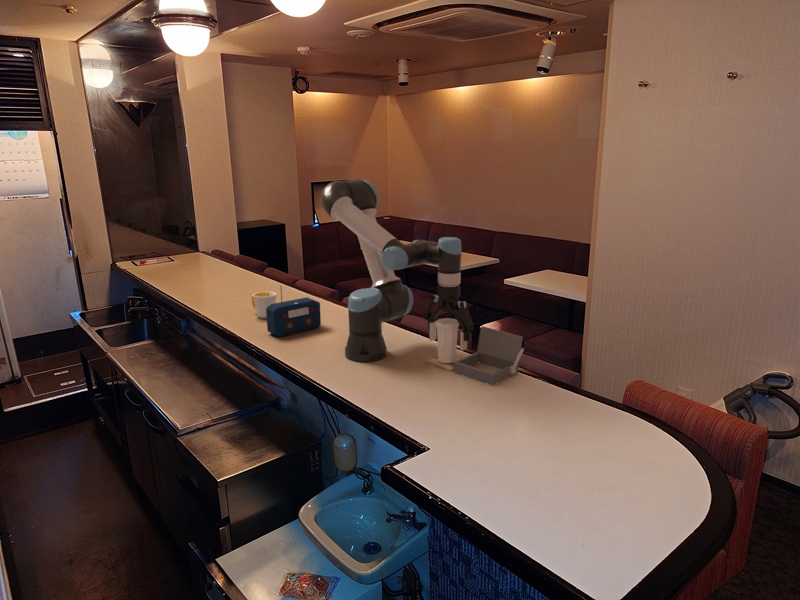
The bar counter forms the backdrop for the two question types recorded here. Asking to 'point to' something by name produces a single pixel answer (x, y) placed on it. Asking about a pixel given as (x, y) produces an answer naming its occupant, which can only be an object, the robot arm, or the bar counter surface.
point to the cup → (447, 339)
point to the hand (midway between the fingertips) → (447, 344)
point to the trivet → (441, 364)
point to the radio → (293, 316)
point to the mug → (263, 302)
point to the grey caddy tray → (492, 356)
